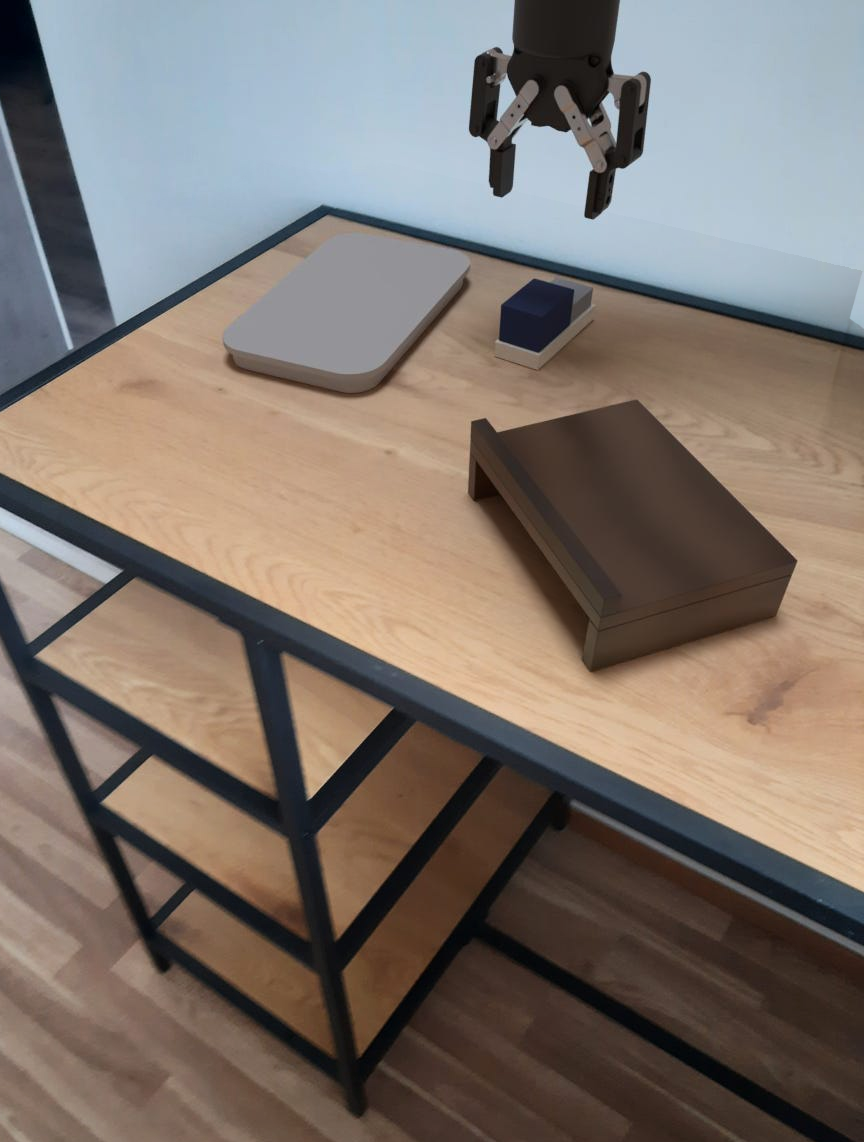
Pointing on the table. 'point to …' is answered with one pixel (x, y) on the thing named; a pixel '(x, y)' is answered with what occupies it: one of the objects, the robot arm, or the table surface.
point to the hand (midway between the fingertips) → (546, 204)
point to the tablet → (347, 311)
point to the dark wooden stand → (632, 528)
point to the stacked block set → (542, 320)
